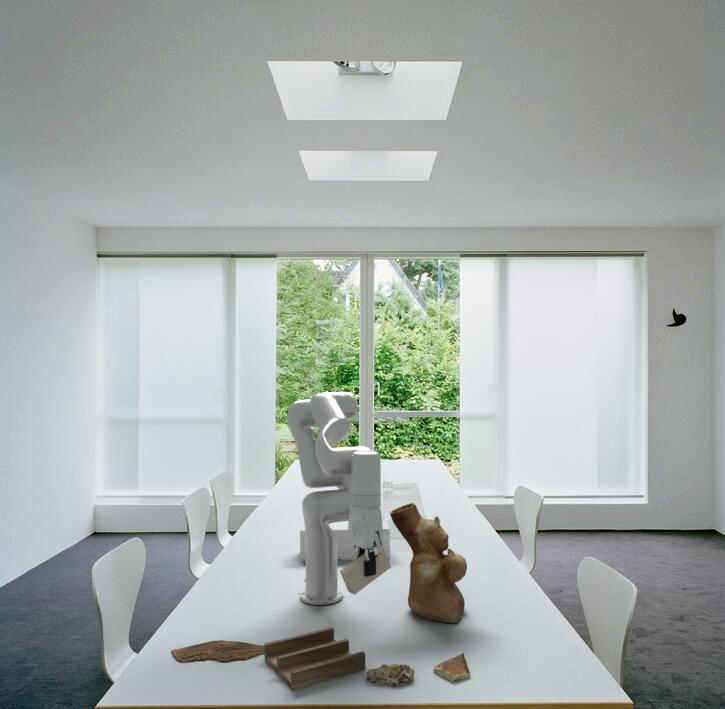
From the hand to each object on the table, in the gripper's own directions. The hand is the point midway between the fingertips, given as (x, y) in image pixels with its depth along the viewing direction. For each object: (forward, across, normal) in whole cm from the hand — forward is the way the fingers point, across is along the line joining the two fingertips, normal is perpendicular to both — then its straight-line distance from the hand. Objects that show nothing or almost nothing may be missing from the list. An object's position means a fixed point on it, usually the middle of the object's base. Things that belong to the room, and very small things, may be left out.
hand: (366, 572), depth 158 cm
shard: (+18, +22, +9) cm, 30 cm away
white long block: (+17, -65, +31) cm, 74 cm away
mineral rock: (+18, +18, -5) cm, 26 cm away
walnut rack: (+17, +3, -16) cm, 24 cm away
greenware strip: (+2, 0, +1) cm, 2 cm away
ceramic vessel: (+17, -7, +25) cm, 31 cm away
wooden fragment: (+18, -14, -32) cm, 39 cm away
